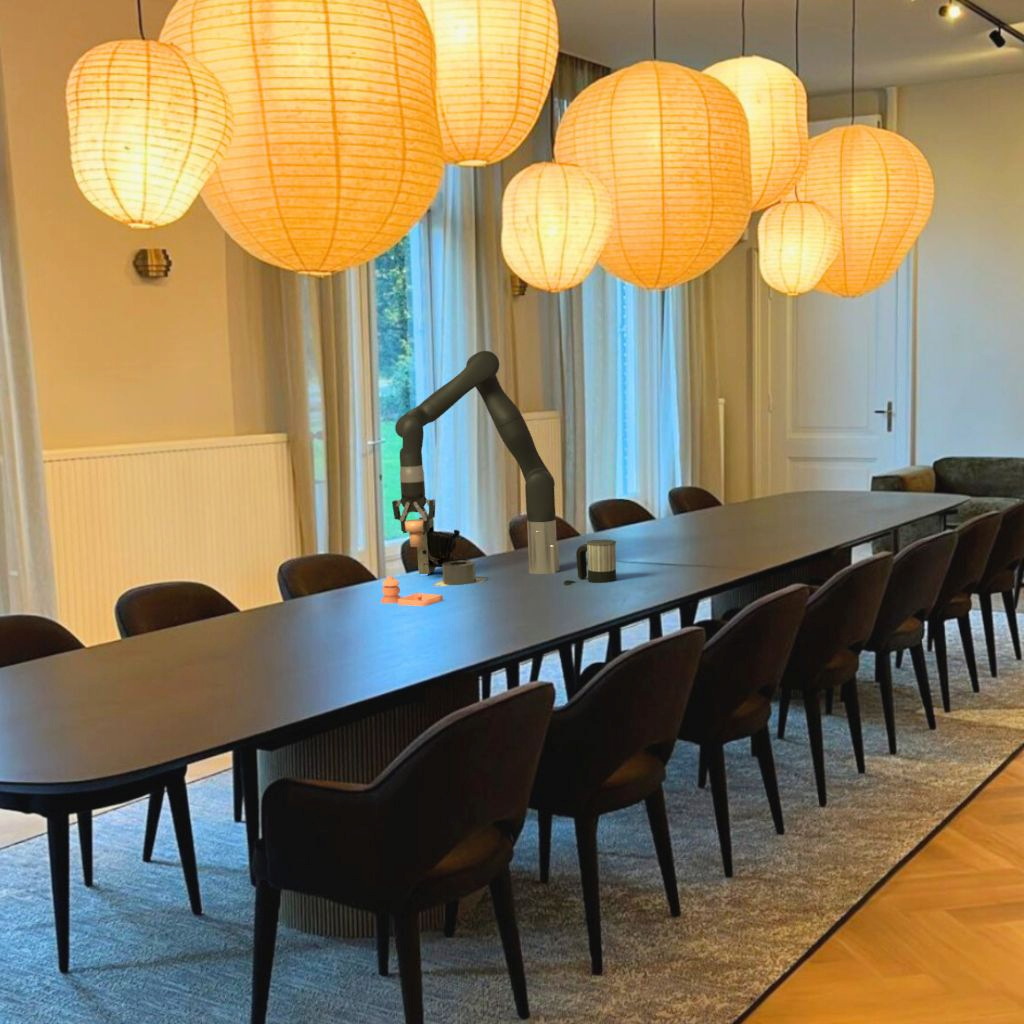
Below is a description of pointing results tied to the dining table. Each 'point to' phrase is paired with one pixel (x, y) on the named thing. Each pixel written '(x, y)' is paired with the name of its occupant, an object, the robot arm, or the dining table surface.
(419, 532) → the tan mushroom shaped knob
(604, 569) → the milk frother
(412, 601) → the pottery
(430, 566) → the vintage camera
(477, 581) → the birch board
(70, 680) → the dining table surface
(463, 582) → the squat olive cylinder
